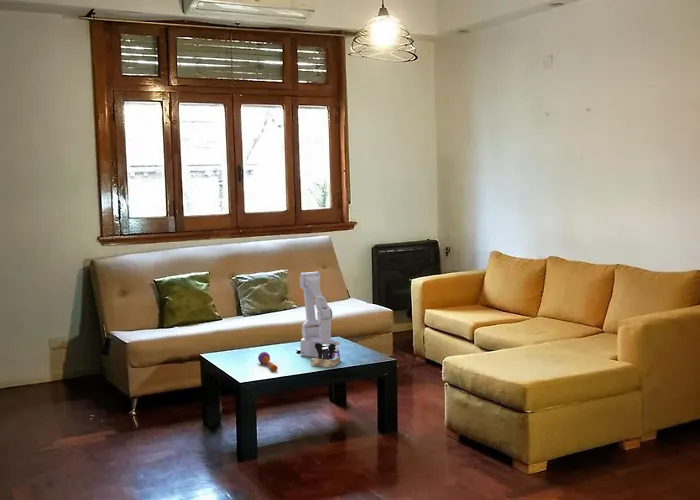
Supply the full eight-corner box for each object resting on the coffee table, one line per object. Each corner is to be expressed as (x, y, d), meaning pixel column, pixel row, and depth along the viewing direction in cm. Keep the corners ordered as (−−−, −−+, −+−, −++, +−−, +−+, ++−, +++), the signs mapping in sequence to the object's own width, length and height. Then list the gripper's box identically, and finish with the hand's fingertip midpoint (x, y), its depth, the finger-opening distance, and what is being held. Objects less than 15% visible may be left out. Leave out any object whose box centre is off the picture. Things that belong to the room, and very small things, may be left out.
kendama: (267, 364, 371) (255, 352, 389) (269, 376, 372) (257, 363, 390) (278, 361, 373) (266, 349, 391) (281, 372, 374) (268, 359, 392)
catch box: (311, 365, 382) (310, 358, 382) (319, 359, 393) (319, 353, 392) (331, 367, 378) (331, 360, 378) (339, 361, 389) (339, 354, 388)
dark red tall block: (322, 349, 388) (339, 347, 391) (319, 350, 393) (335, 348, 396) (324, 362, 387) (340, 360, 390) (321, 363, 392) (337, 361, 395)
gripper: (308, 332, 382) (309, 359, 384) (335, 334, 377) (336, 361, 379) (314, 329, 389) (314, 355, 391) (340, 331, 384) (341, 357, 386)
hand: (325, 358), depth 385 cm, fingers open, 5 cm apart
